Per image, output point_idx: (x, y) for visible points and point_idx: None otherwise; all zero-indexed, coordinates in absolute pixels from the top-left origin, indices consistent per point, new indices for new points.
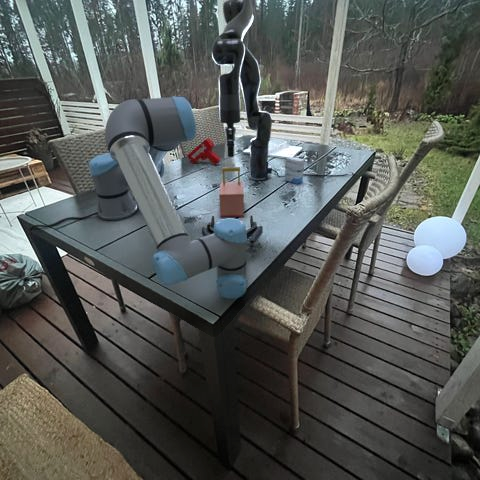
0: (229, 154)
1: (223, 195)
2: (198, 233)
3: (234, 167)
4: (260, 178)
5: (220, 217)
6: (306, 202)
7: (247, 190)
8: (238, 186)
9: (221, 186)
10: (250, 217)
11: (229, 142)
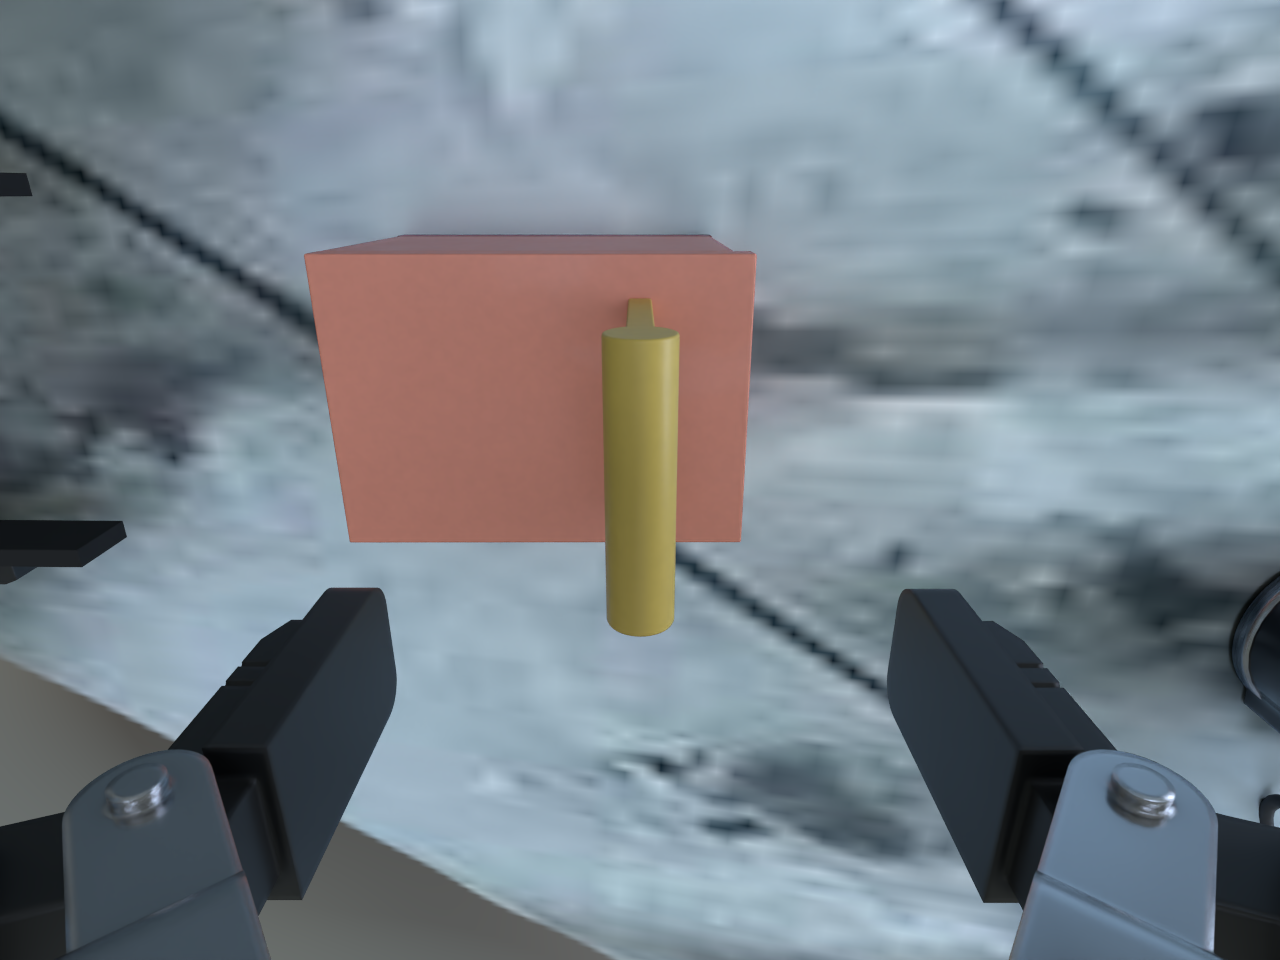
0: (263, 653)
1: (318, 307)
2: (67, 24)
3: (625, 554)
4: (1251, 653)
5: (403, 235)
6: (688, 891)
7: (1011, 504)
8: (578, 492)
9: (581, 275)
10: (40, 549)
11: (988, 770)
